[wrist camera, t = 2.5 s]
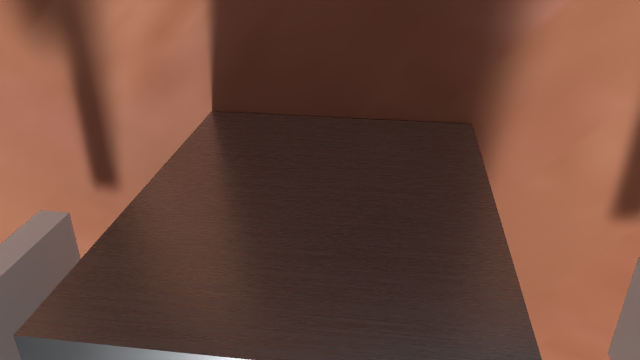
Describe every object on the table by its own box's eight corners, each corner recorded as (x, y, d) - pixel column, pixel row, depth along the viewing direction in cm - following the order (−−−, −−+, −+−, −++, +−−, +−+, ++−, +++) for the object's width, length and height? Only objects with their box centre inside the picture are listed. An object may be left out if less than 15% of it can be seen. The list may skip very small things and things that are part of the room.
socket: (230, 309, 17) (105, 608, 10) (211, 111, 14) (12, 335, 7) (444, 329, 16) (475, 668, 9) (471, 124, 13) (551, 391, 6)
